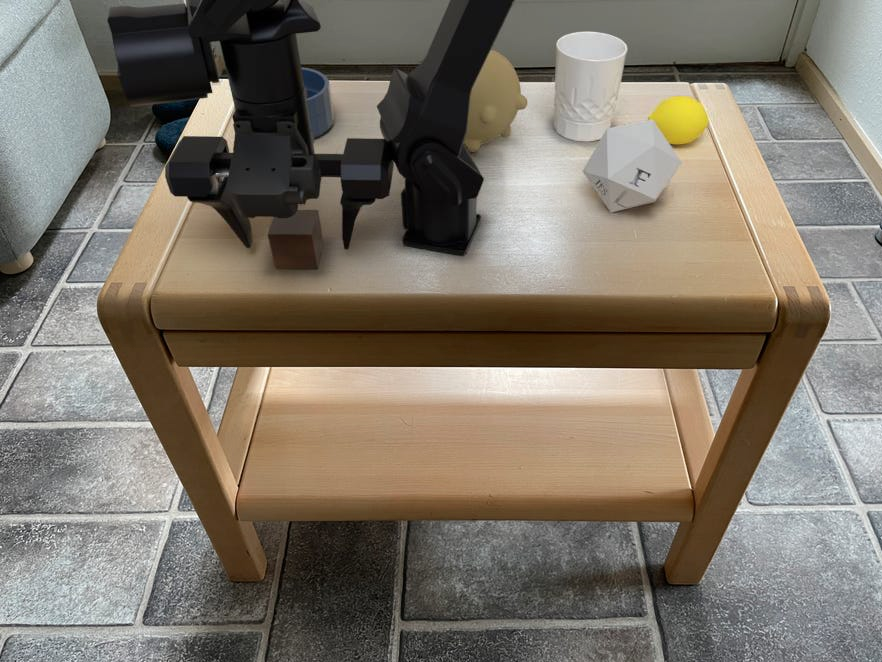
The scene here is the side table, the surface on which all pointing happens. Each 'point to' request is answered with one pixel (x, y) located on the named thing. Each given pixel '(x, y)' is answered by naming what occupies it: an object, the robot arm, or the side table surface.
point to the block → (296, 240)
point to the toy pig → (493, 102)
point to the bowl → (318, 101)
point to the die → (631, 165)
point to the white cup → (587, 83)
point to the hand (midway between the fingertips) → (298, 246)
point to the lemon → (680, 119)
